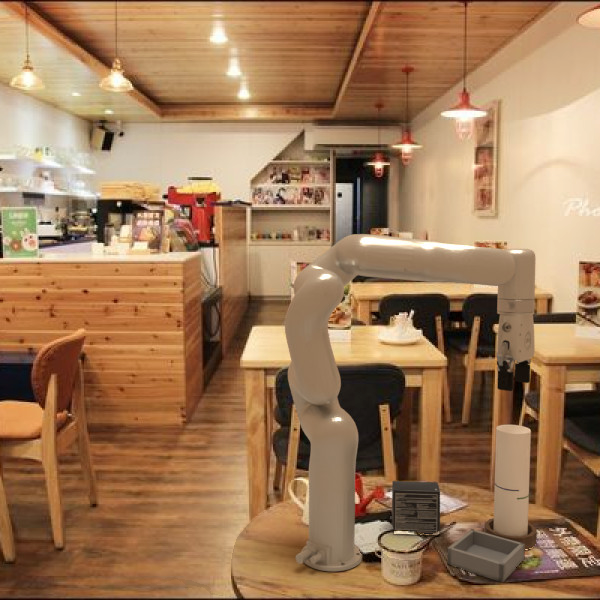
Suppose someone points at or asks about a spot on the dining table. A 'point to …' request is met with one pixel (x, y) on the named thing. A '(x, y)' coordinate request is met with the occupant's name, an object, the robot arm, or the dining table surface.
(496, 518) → the cylindrical container
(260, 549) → the dining table surface
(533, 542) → the collar
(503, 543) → the tray
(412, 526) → the small box
